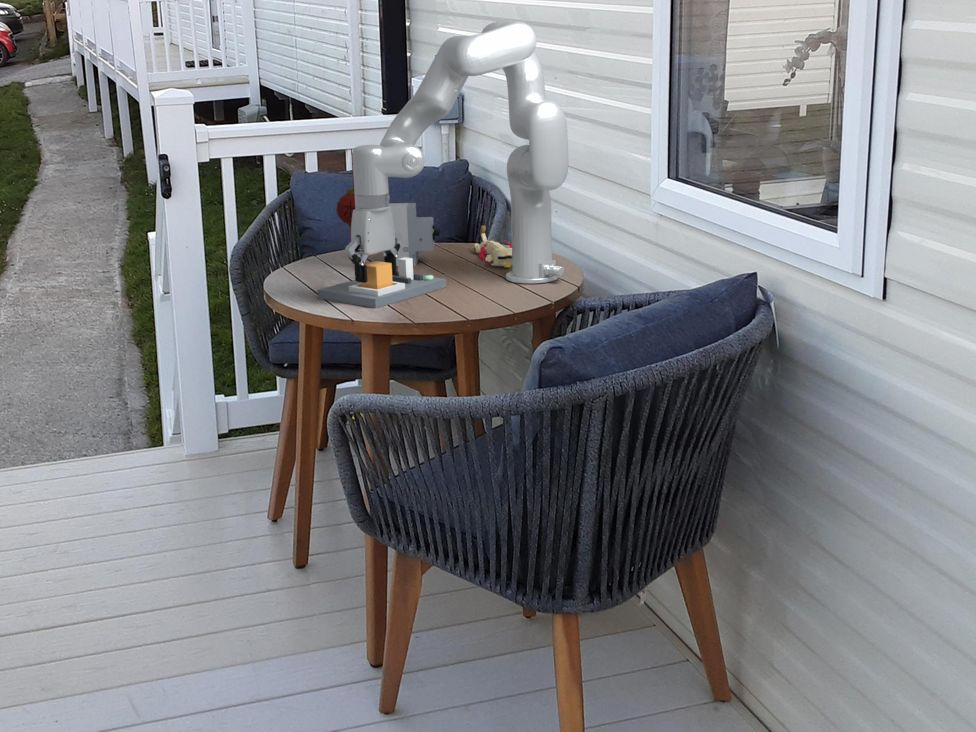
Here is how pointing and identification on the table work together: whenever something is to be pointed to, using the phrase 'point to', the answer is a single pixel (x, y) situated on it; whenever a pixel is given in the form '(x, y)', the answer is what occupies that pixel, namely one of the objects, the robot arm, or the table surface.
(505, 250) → the cat figure
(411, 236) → the circuit breaker
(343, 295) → the panel
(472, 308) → the table surface
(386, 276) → the lockout cap
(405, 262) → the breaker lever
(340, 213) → the lantern
